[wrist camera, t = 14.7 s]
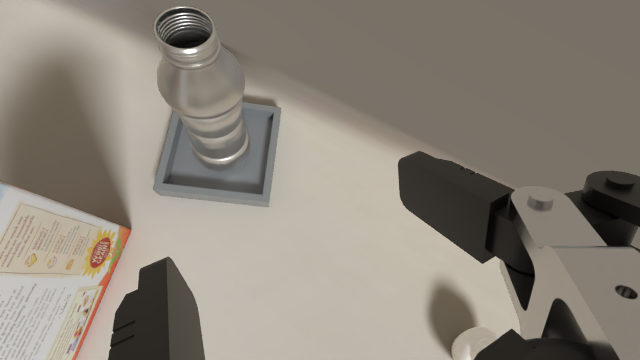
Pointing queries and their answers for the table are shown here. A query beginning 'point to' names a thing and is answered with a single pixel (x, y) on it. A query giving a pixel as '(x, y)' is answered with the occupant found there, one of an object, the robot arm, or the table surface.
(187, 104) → the plastic bottle
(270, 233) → the table surface
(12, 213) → the cracker box
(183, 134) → the bottle tray
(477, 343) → the white rounded piece
